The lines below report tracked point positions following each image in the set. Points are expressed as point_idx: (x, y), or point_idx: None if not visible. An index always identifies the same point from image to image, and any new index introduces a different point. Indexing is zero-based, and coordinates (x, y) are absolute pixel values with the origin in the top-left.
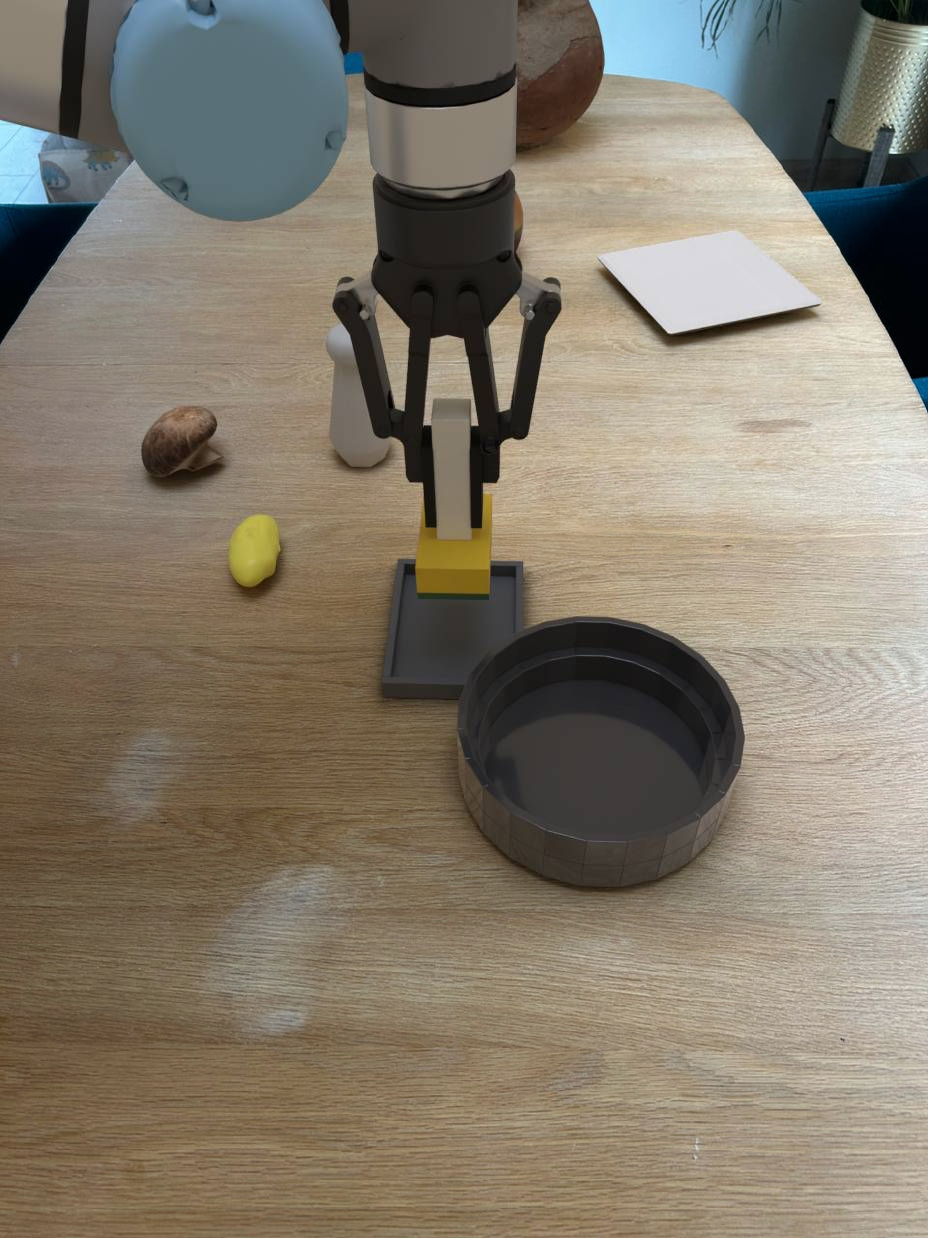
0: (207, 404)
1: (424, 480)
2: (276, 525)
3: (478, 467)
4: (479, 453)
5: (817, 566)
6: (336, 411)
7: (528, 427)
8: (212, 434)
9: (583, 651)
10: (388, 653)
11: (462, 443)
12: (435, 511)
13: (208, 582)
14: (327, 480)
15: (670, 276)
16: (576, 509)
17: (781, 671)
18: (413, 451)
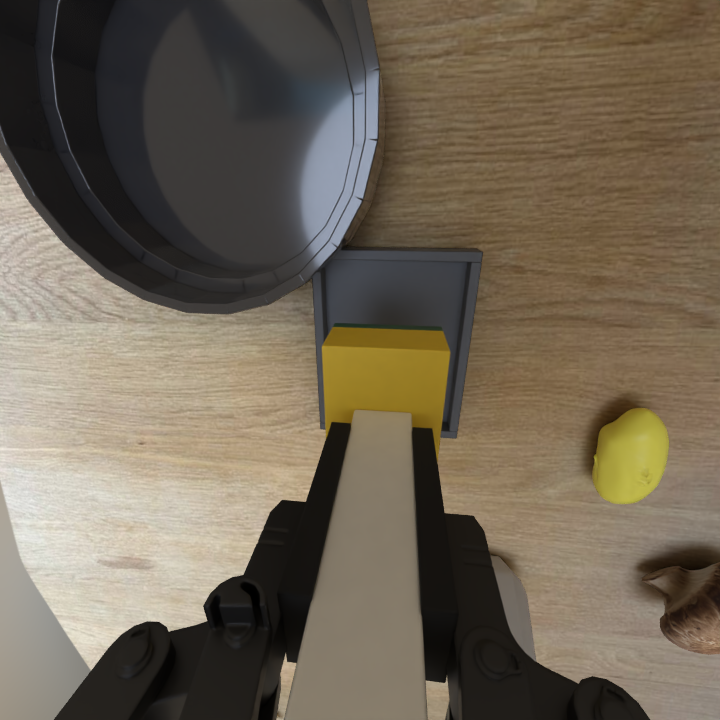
0: (644, 638)
1: (440, 515)
2: (600, 488)
3: (302, 539)
4: (284, 583)
5: (62, 417)
6: (527, 629)
7: (93, 674)
8: (672, 612)
9: (235, 285)
10: (472, 300)
11: (327, 625)
12: (413, 451)
13: (677, 422)
14: (524, 542)
15: None
16: (279, 492)
17: (67, 291)
18: (476, 605)
